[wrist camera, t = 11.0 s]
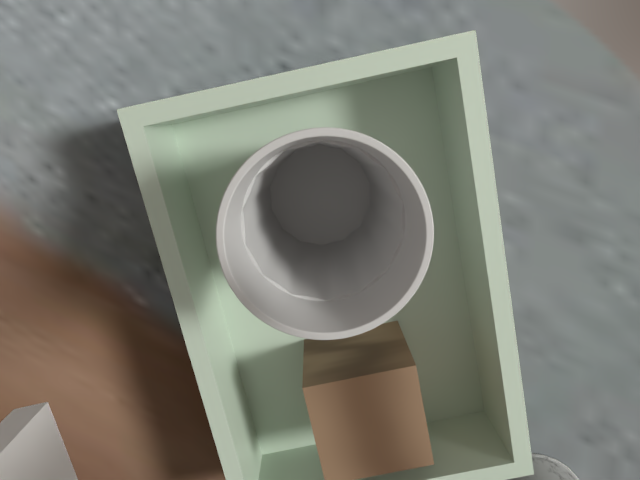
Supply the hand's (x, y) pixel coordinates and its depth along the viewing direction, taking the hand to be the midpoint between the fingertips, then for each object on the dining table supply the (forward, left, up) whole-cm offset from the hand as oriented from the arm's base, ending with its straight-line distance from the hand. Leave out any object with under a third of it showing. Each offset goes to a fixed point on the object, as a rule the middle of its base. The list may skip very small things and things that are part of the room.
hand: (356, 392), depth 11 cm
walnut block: (0, -10, -20) cm, 23 cm away
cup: (0, +1, -21) cm, 21 cm away
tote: (0, -4, -21) cm, 21 cm away
